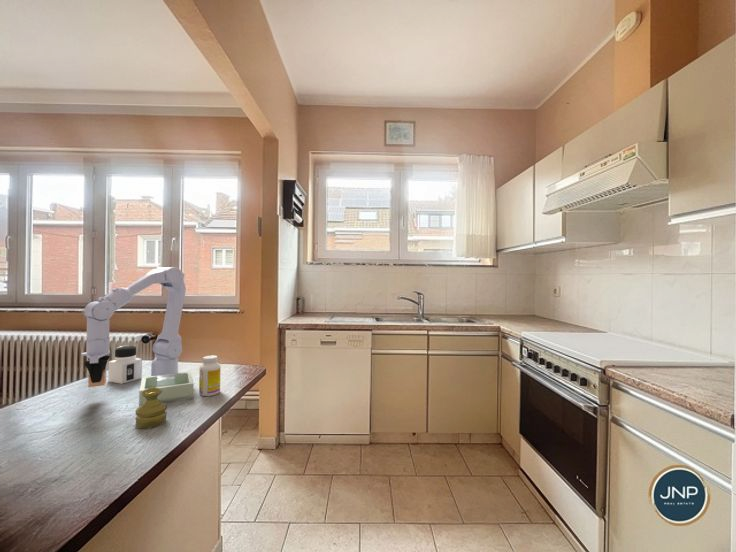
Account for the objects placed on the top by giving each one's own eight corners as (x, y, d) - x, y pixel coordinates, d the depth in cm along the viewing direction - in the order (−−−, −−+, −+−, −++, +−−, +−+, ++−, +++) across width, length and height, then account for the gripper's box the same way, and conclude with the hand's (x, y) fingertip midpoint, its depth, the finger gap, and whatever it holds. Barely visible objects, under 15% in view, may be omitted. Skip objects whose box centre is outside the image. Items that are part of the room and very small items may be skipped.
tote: (142, 391, 115) (142, 377, 115) (190, 384, 123) (190, 371, 123) (139, 406, 103) (139, 390, 103) (193, 398, 111) (193, 383, 110)
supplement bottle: (223, 390, 118) (224, 355, 118) (213, 397, 112) (214, 359, 112) (206, 389, 119) (207, 354, 119) (194, 396, 112) (195, 358, 112)
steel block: (157, 391, 114) (157, 376, 113) (173, 388, 116) (174, 374, 116) (156, 395, 109) (157, 380, 109) (174, 393, 112) (174, 378, 112)
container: (142, 378, 130) (142, 345, 129) (121, 384, 122) (122, 349, 122) (128, 375, 132) (129, 343, 132) (107, 381, 125) (108, 347, 125)
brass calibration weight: (132, 431, 87) (133, 394, 87) (137, 420, 94) (138, 385, 94) (165, 426, 90) (166, 390, 90) (167, 415, 97) (168, 381, 97)
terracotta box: (90, 383, 108) (90, 371, 108) (106, 381, 110) (106, 369, 110) (88, 387, 104) (88, 374, 104) (104, 385, 106) (104, 373, 106)
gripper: (86, 335, 111) (86, 375, 111) (76, 344, 99) (76, 389, 99) (112, 333, 115) (112, 372, 115) (106, 341, 102) (106, 385, 102)
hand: (97, 380), depth 107 cm, fingers closed on terracotta box, 4 cm apart
